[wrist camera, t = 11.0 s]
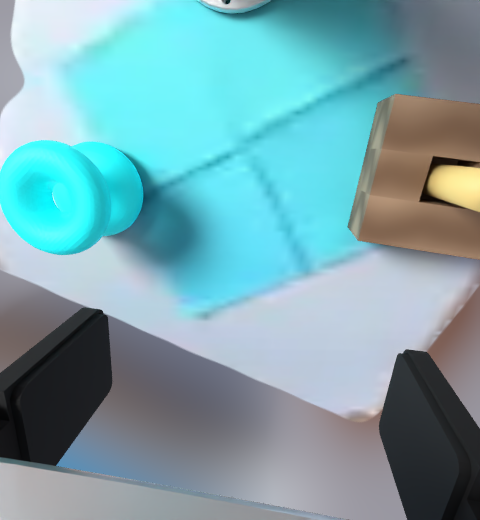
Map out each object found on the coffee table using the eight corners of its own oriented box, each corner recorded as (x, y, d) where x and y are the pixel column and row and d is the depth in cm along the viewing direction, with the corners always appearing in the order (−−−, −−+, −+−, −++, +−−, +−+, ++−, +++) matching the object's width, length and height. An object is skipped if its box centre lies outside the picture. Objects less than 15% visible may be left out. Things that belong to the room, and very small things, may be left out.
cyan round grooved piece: (37, 112, 26) (124, 215, 28) (104, 121, 35) (165, 198, 37) (-33, 191, 29) (49, 279, 31) (46, 180, 38) (105, 248, 40)
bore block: (377, 102, 31) (395, 93, 26) (512, 119, 30) (559, 113, 25) (347, 226, 35) (357, 240, 30) (465, 245, 34) (497, 262, 29)
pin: (418, 161, 31) (475, 166, 22) (449, 165, 31) (520, 173, 21) (409, 191, 32) (459, 209, 23) (439, 196, 32) (503, 216, 22)
